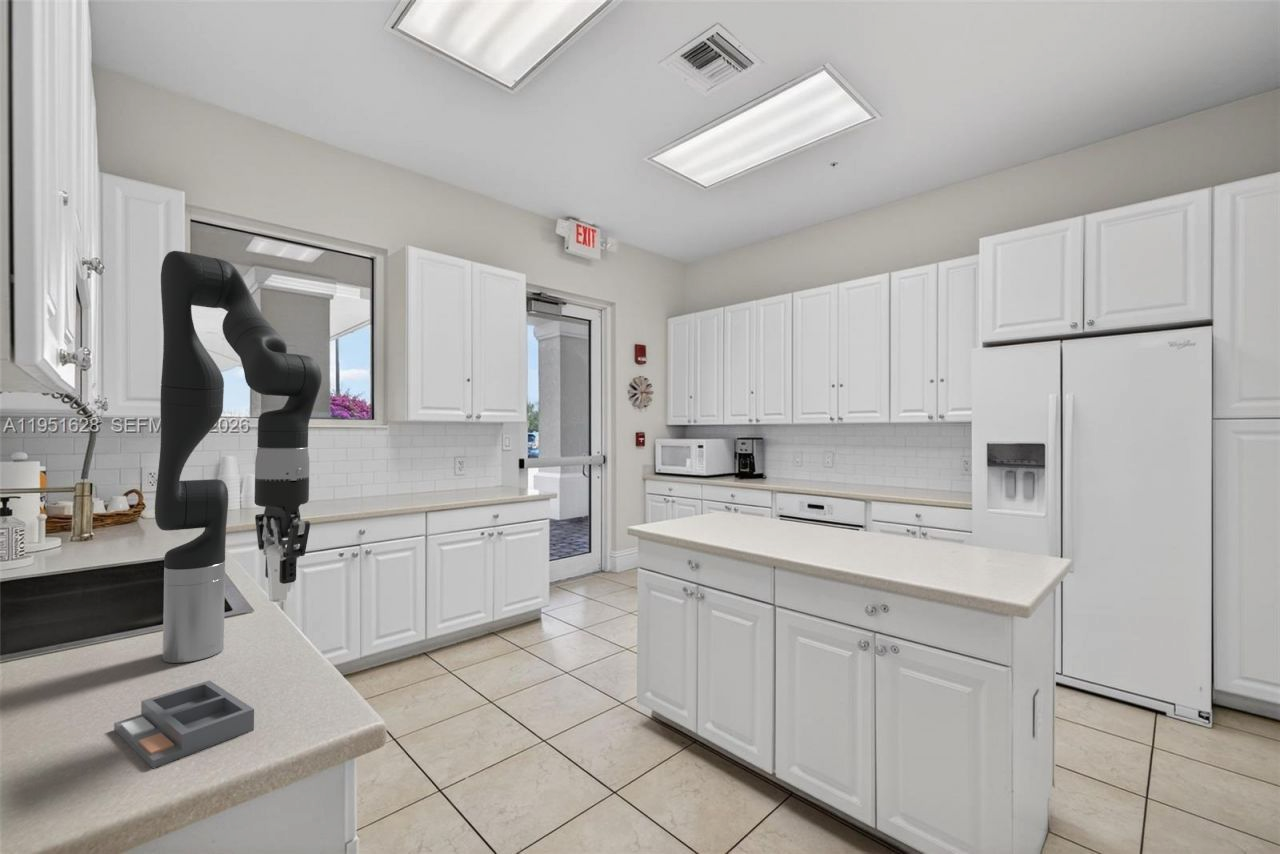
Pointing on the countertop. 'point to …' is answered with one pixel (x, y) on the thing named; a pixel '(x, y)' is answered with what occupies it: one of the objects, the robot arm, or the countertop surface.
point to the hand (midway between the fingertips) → (280, 579)
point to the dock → (185, 722)
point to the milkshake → (277, 577)
